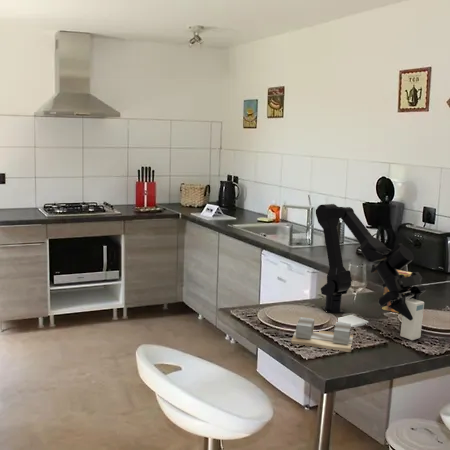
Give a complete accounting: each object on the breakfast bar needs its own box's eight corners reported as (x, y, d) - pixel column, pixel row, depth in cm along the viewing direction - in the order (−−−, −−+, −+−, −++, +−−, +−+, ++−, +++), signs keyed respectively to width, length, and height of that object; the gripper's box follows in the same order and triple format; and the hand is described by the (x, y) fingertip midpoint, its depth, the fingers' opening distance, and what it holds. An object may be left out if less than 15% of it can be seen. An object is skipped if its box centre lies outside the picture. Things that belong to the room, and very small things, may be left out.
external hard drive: (368, 325, 204) (343, 331, 196) (350, 318, 210) (325, 324, 203) (368, 321, 203) (343, 326, 196) (350, 314, 210) (325, 319, 202)
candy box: (408, 312, 219) (412, 272, 216) (404, 314, 215) (408, 274, 213) (385, 307, 224) (389, 267, 221) (381, 309, 221) (385, 269, 218)
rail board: (297, 330, 194) (298, 314, 193) (353, 337, 189) (354, 321, 188) (290, 343, 181) (292, 326, 180) (350, 352, 177) (352, 335, 176)
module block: (400, 335, 191) (403, 300, 189) (408, 333, 194) (412, 298, 192) (412, 340, 188) (416, 304, 186) (420, 337, 191) (424, 302, 189)
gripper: (389, 267, 184) (416, 311, 178) (423, 261, 196) (450, 301, 189) (367, 285, 192) (392, 328, 185) (401, 278, 203) (425, 318, 197)
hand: (416, 318), depth 189 cm, fingers closed on module block, 4 cm apart
